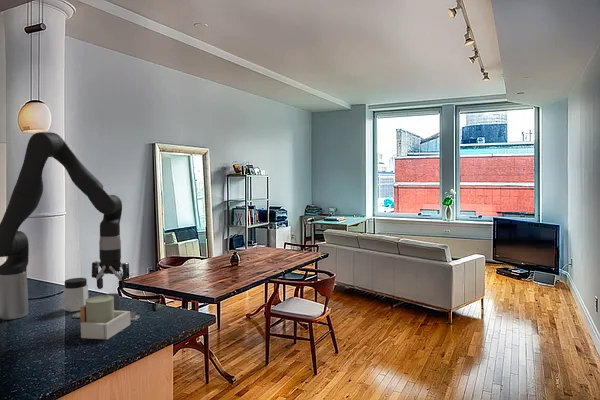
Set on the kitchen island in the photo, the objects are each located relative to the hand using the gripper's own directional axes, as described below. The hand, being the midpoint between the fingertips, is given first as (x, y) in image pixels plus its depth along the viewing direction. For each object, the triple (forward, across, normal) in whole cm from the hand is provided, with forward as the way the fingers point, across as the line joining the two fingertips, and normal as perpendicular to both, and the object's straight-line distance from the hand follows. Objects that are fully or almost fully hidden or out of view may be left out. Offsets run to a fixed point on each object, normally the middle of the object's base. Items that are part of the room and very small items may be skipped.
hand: (110, 289), depth 164 cm
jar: (+12, -21, +9) cm, 26 cm away
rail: (+11, -2, 0) cm, 11 cm away
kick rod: (+10, +4, -7) cm, 13 cm away
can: (+11, +4, -13) cm, 18 cm away
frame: (+11, +6, -13) cm, 18 cm away
